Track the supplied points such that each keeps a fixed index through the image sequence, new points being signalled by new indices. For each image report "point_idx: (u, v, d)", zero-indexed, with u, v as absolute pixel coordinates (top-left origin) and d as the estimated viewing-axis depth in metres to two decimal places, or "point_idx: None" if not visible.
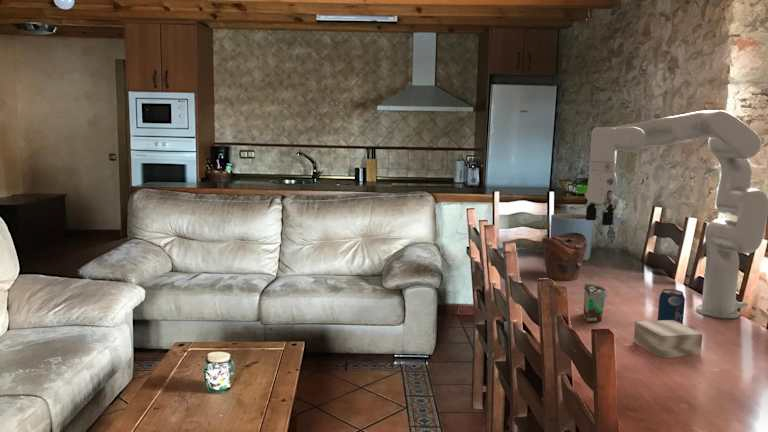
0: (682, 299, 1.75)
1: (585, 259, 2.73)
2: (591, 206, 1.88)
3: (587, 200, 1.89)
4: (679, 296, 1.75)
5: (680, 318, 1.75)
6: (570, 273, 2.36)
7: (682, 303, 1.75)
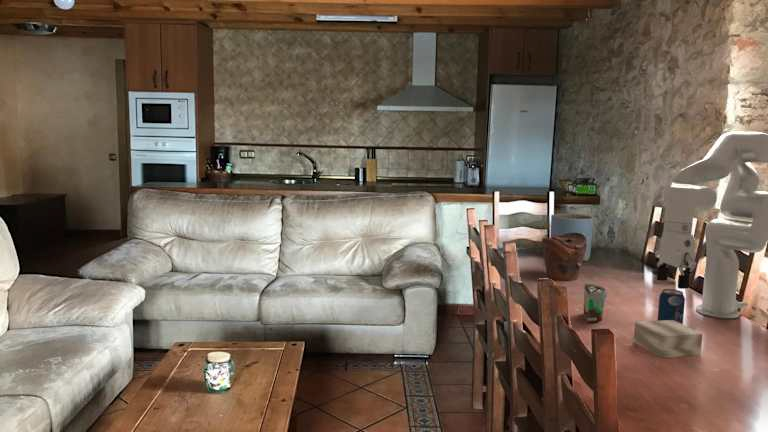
0: (682, 299, 1.75)
1: (585, 259, 2.73)
2: (663, 266, 1.81)
3: (658, 259, 1.82)
4: (679, 296, 1.75)
5: (680, 318, 1.75)
6: (570, 273, 2.36)
7: (682, 303, 1.75)
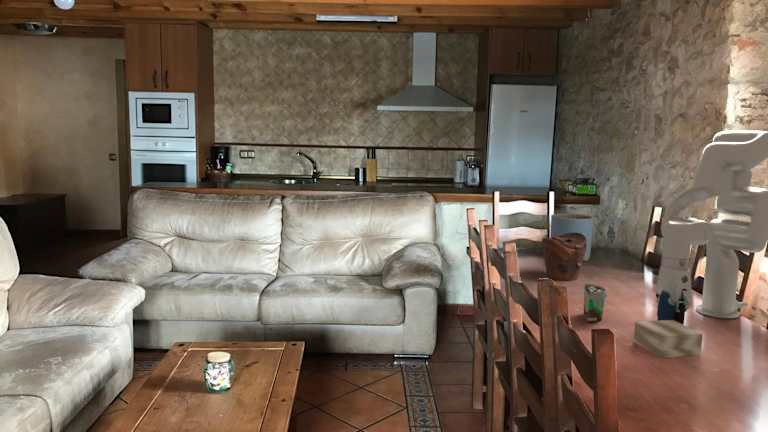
0: None
1: (585, 259, 2.73)
2: None
3: (658, 295, 1.83)
4: None
5: None
6: (570, 273, 2.36)
7: None
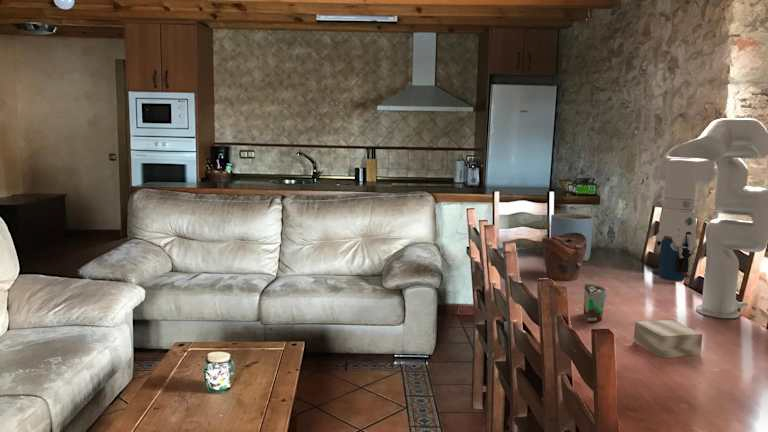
0: None
1: (585, 259, 2.73)
2: None
3: (660, 243, 1.67)
4: None
5: None
6: (570, 273, 2.36)
7: None
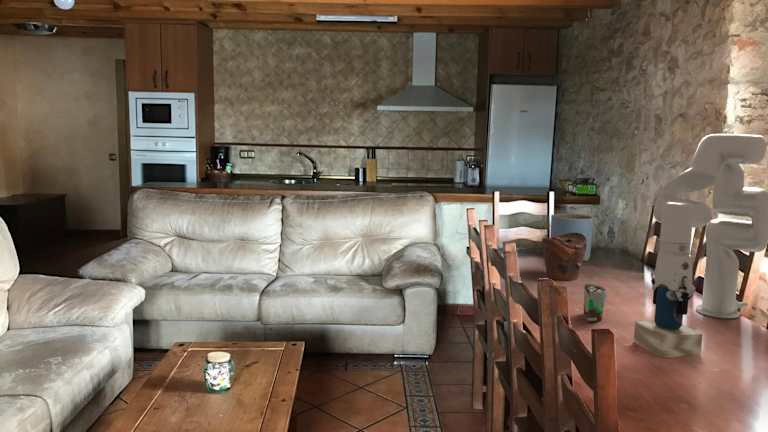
0: (682, 293, 1.59)
1: (585, 259, 2.73)
2: None
3: (654, 281, 1.67)
4: None
5: None
6: (570, 273, 2.36)
7: None
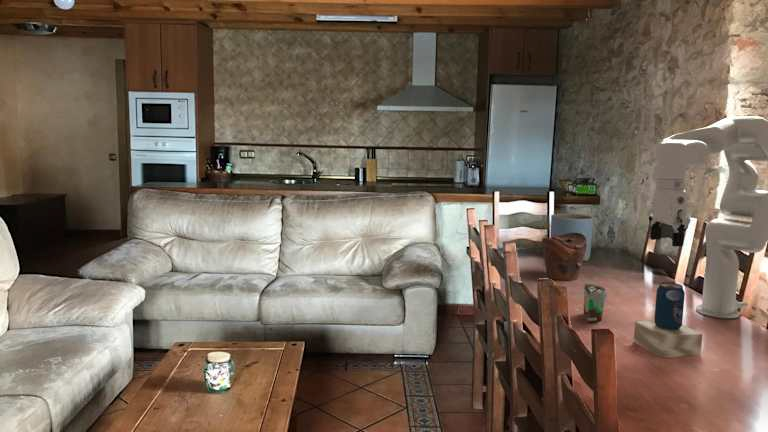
0: (681, 293, 1.59)
1: (585, 259, 2.73)
2: (656, 225, 1.77)
3: (651, 218, 1.79)
4: (678, 290, 1.59)
5: (679, 314, 1.59)
6: (570, 273, 2.36)
7: (681, 298, 1.59)
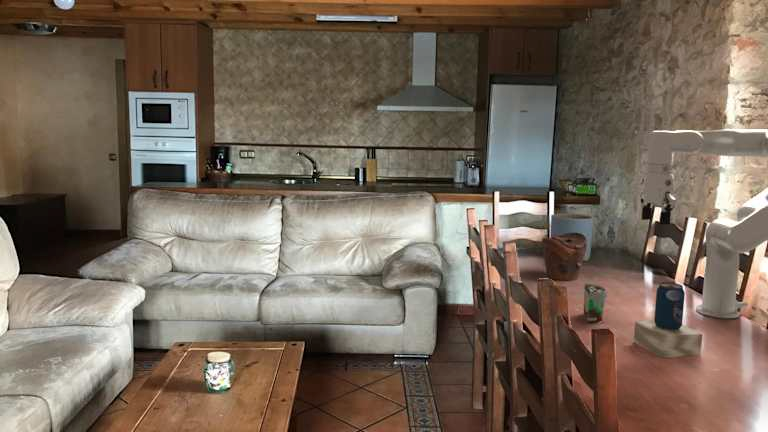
0: (681, 293, 1.59)
1: (585, 259, 2.73)
2: (647, 206, 1.97)
3: (643, 200, 1.98)
4: (678, 290, 1.59)
5: (679, 314, 1.59)
6: (570, 273, 2.36)
7: (681, 298, 1.59)
